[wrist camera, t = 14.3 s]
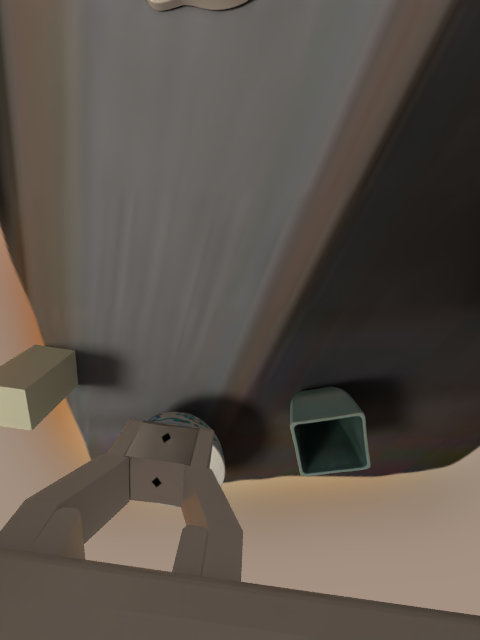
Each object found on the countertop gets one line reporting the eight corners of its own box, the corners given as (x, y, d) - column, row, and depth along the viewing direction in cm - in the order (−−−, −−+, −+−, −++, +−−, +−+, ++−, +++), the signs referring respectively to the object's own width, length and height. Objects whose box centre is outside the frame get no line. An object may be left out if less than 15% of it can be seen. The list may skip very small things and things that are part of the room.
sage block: (40, 379, 45) (-17, 423, 36) (35, 344, 43) (-27, 382, 34) (78, 384, 45) (31, 430, 36) (75, 350, 43) (24, 389, 34)
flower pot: (282, 382, 43) (289, 424, 35) (343, 371, 42) (365, 412, 34) (293, 428, 46) (301, 477, 38) (349, 420, 45) (371, 469, 36)
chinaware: (119, 420, 47) (94, 458, 40) (187, 372, 43) (173, 405, 36) (180, 476, 51) (168, 520, 44) (248, 437, 47) (247, 478, 40)
